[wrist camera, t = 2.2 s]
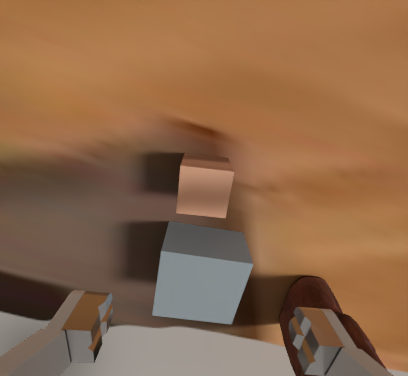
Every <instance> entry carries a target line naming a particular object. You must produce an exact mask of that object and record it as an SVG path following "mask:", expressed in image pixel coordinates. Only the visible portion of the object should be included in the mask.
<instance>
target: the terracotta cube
mask: <svg viewBox="0 0 408 376" xmlns="http://www.w3.org/2000/svg"><path fill="white" fill-rule="evenodd" d="M233 176H234V170H233V168H232V166H231V164H230V162H229V160H228V158H222V157H213V156H205V155H197V154H189V153H184V156H183V159H182V162H181V165H180V176H179V188H178V200H177V212H176V213H180V214H190V215H200V216H209V217H219V218H226V212H227V207H228V202H229V197H230V192H231V187H232V181H233Z"/></svg>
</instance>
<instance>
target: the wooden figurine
mask: <svg viewBox="0 0 408 376" xmlns="http://www.w3.org/2000/svg"><path fill="white" fill-rule="evenodd" d="M297 307H305V308H318V309H331V310H332V311H333V312H334V313H335V315H336V316H337V318H338V319H339V321H340V322H341V324H342V325H343V327H344V328H345V330H346V332H347V333H348V335H349V336H350V338H351V339H352V341H353V342H354V344H355V345H356V347H357V348H358V349H362V350H363V351H364V352H365V353H367V354H368V355H369V356H370V357H371V358H373V359H374V360H375V361H376V362H378V363H379V364H380V365H381V366H382V367H384V368H385V366H384V365H383V363H382V362H381V360H380V359H379V357H378V356H377V354H376V352H375V348H374V347H373V345H372V344H371V342H370V341H369V339H368V337H367V336H366V334H365V333H364V332H363V330H362V329H361V328H360V326H359V325H358V323H357V322H356V321H355V320H354V319H352V318H351V317H350V316H349V315H346V314H343V312H342V310H341V308H340V306H339V304H338V302H337V300H336V298H335V296H334V294H333V292H332V291H331V289H330V288H329V286H328V284H327V283H326V281H325V280H324V279H322V278H317V277H304V278H301V279H299V280H298V281H297V282H296V283H295V284H294V285H293V286H292V287H291V288H290V290H289V292H288V295H287V297H286V301H285V303H284V306H283V308H282V311H281V314H280V317H279V323H280V327H281V331H282V335H283V340H284V344H285V347H286V350H287V353H288V356H289V359H290V363H291V365H292V367H293V370H294V372H295V375H296V376H318V375H307V374H304V371H303V369H302V366H301V364H300V361H299V359H298V356H297V354H298V349H297V348H296V347H295V346H294V345H293V344H292V341H291V338H290V334H289V323H290V320H291V319H292V318H294V317H295V315H294V310H295V308H297ZM385 369H386V368H385ZM386 370H387V369H386Z"/></svg>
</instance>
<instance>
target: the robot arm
mask: <svg viewBox="0 0 408 376" xmlns="http://www.w3.org/2000/svg"><path fill="white" fill-rule="evenodd" d="M111 301H112V294H111V293H101V292H92V291H81V290H74V291H72V292H71V293H70V294H69V296H68V297H67V299H66V300H65V301H64V303H63V304H62V306H61V307H60V309H59V310H58V311H57V313H56V314H55V316H54V317H53V319H52V320H51V321H50V323H49V324H48V326H47V327H46V329H40V330H39V331H37V332H36V333H35V334H33V335H31V336H30V337H29V338H27V339H26V340H24V341H23V342H21V343H20V344H19V345H17V346H15V347H14V348H12V349H11V350H10V351H8V352H7V353H5V354H4V355H2V356H1V357H0V376H60V375H61V374H62V373H63V372H64V371H65V369H67V368H68V367H69V365H70V364H71V363H94V362H95V360H96V358H97V355H98V353H99V350H100V348H101V346H102V336H103V335H104V334H106V333H107V331H108V329H109V326H110V323H111V319H112V314H113V307H112V306H111V305H110V303H111ZM294 315H295V317H294V318H292V319H291V320H290V323H289V334H290V338H291V341H292V344H293V345H294V346H295V347H296V348H297V349H298V354H297V356H298V359H299V361H300V364H301V366H302V369H303V371H304V374H307V375H318V376H393V375H392V374H391V373H390V372H388V371H387V370H386V369H385V368H384V367H382V366H381V365H380V364H379V363H378V362H376V361H375V360H374V359H373V358H371V357H370V356H369V355H368V354H367V353H365V352H364V351H363V350H362V349H358V348H357V347H356V345H355V344H354V342H353V341H352V339H351V338H350V336H349V335H348V333H347V332H346V330H345V328H344V327H343V325H342V324H341V322H340V321H339V319H338V318H337V316H336V315H335V313H334V312H333V311H332V310H331V309H318V308H305V307H297V308H295V310H294Z"/></svg>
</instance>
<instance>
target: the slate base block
mask: <svg viewBox="0 0 408 376" xmlns="http://www.w3.org/2000/svg"><path fill="white" fill-rule="evenodd" d="M252 267H253V261H252V258H251V255H250V252H249V249H248V246H247V242H246V239H245V236H244V233H242V232H236V231H229V230H223V229H216V228H210V227H203V226H197V225H190V224H184V223H177V222H171V221H169V224H168V227H167V231H166V235H165V239H164V242H163V246H162V250H161V256H160V263H159V270H158V278H157V285H156V292H155V300H154V307H153V314H152V315H154V316H162V317H171V318H180V319H188V320H197V321H206V322H214V323H223V324H232V322H233V319H234V316H235V313H236V311H237V308H238V305H239V302H240V300H241V297H242V294H243V292H244V289H245V286H246V283H247V281H248V278H249V275H250V272H251V270H252Z"/></svg>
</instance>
